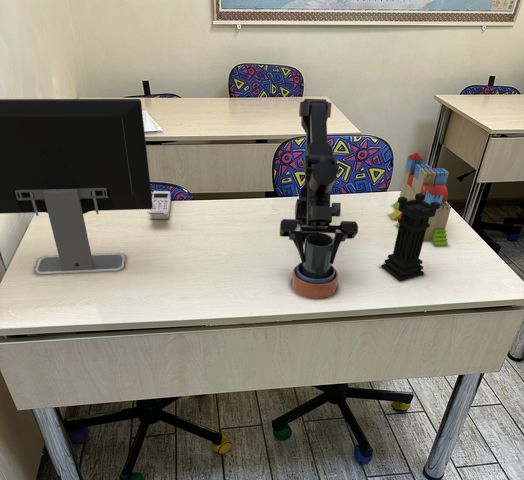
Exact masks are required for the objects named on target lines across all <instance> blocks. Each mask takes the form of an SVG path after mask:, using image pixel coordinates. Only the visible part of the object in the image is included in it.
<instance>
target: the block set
mask: <svg viewBox="0 0 524 480" xmlns="http://www.w3.org/2000/svg"><path fill="white" fill-rule="evenodd" d="M423 160H424V159H423V158H422V157H421V155H420V154H419V153H418V152H414V153H412V154H410V155H408V156H407V159H406V163H405V170H404V174H403V180H402V184H401V187H400V193H399V197H405V198H407V201H409V200H414V199H415V195H416V194H418V193H422V194H424V195H425V197H424V200H423V201H425V202H427V203H429V204H430V205H431V202H438V203H440V208H439V209H437V210H436V213H435V216H432V217H430V218H429V221H428V223H429V224H430V227H429V228H427V229H426V233H425V237H424V240H423V242H424V241H431V242H432V243H433V244H434V245H435V246H436V247H443V246H448V244H449V243H448V238H447V236H448V234H447V229H446V228H447V223H448V220H449V217H450V213H451V209H452V206H451V205H450V203H448V198H449V193H448V187H447V181H448V178H449V173H450V172H449V171H448V170H446V168H444V167H441V168H440V167H438V168H436V167H435V168H432V167H431V166H429V164H423ZM415 200H416V199H415ZM393 207H394V209H395V210H394V211H393V212H391V213H390V214H389V217H390V218H391V219H392V221H398V219H401V215H402V212H400V211H399V210H398V208H399V203H398V200H396V201H395V202H394V203H393ZM399 224H400V223H398V222H397V223H396V226H397V227H398V229H399Z"/></svg>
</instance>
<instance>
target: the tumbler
mask: <svg viewBox="0 0 524 480" xmlns="http://www.w3.org/2000/svg"><path fill="white" fill-rule="evenodd" d="M333 238H334V237H332V236H331V235H330V234H328V233H313V234H309V235H308V236H307V237H306V238H305V243H304V263H303V268H302V275H304V276H306V277H308V278H312V279H324V278H328V277H329V273H330V266H331V265H332V264H331V259H332V252H333V245H334V239H333Z"/></svg>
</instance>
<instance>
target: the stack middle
mask: <svg viewBox="0 0 524 480" xmlns="http://www.w3.org/2000/svg"><path fill="white" fill-rule="evenodd" d="M298 264H299V265H298ZM298 264H297V265H298V266H297V265H296V266H297V272H296V276H297V277H298V278H299V279H300V280H302V281H304V282H307V283H310V284H326V283H329V282H331V281H333V280H334V277H335V269H336V268H335V267H334V266H333V264H331V266H330V273H329V277H328V278H324V279H312V278H308V277H306V276H304V275H302V268H303V263H302V261H301V262H300V263H298ZM334 268H335V269H334Z"/></svg>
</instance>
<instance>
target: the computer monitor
mask: <svg viewBox="0 0 524 480" xmlns="http://www.w3.org/2000/svg"><path fill="white" fill-rule="evenodd" d="M143 115H144V114H143V107H142V100H141V99H140V98H0V215H1V214H34V213H35V216H36V217H39V213H47V215H48V219H49V223H50V227H51V231H52V234H53V238H54V239H53V240H54V242H55V246H56V250H57V255H47V256H42V257H40V258H39V259H38V262H37V264H36V266H35V269H34V270H35V273H36V274H39V275H54V274H55V275H56V274H76V273H77V274H78V273H79V274H80V273H97V272H99V273H101V272H118V271H121V270H122V269H123V268H124V267H125V259H126V258H125V255H124V254H122V253H98V254H97V253H96V254H94V253H93V254H92V250H91V247H90V242H89V237H88V231H87V226H86V223H85V217H84V214H87V213H89V212H95V214H96V215H99V212H102V211H103V212H104V211H133V210H134V211H135V210H150V209H152V207H153V204H152V195H153V194H152V186H151V178H150V169H149V160H148V151H147V141H146V132H145V125H144V116H143Z"/></svg>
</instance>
